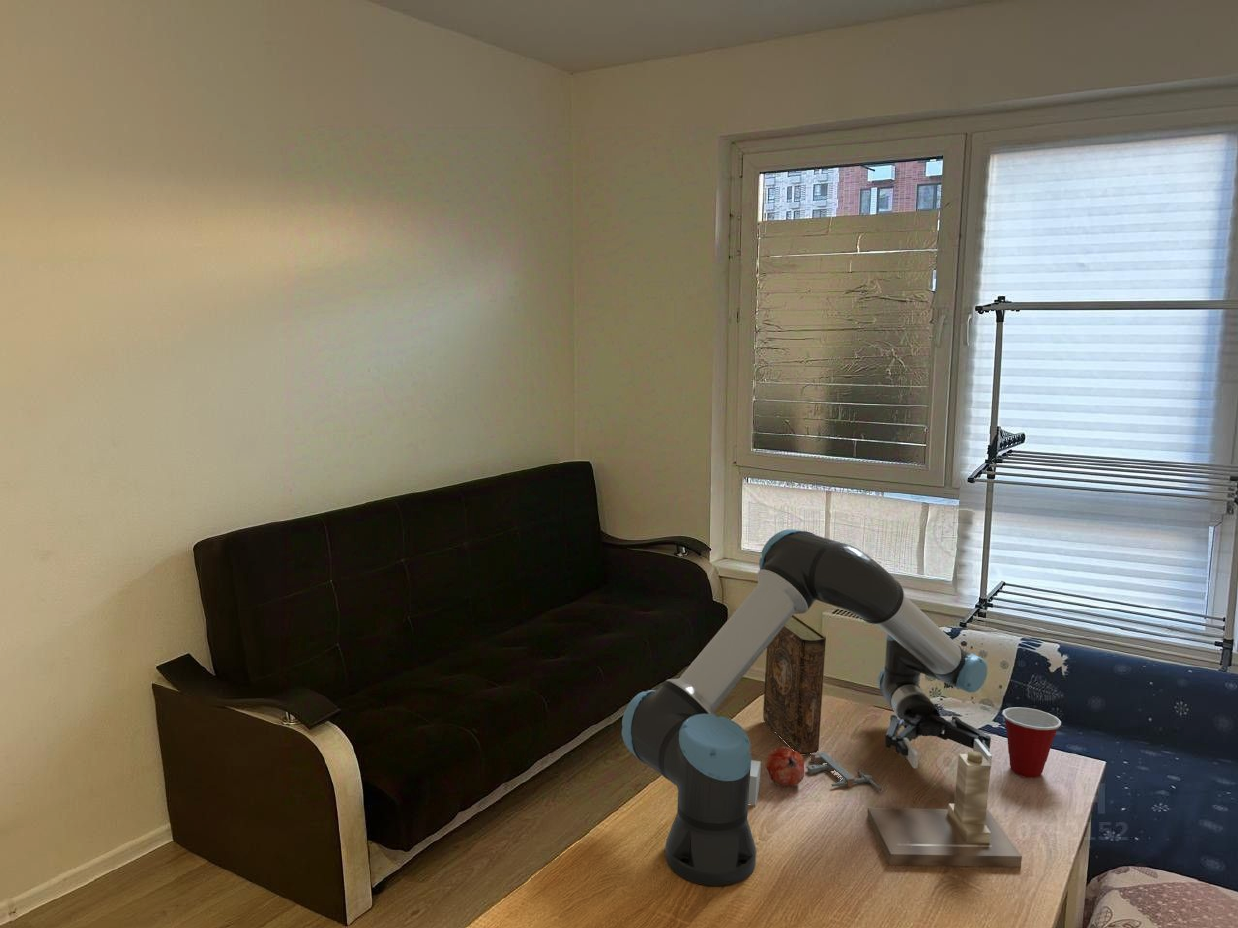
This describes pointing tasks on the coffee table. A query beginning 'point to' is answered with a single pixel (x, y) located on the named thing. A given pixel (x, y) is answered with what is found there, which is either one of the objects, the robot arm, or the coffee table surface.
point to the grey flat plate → (937, 840)
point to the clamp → (832, 765)
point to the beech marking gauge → (971, 798)
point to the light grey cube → (754, 782)
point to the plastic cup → (1029, 739)
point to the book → (795, 685)
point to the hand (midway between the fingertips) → (952, 762)
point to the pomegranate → (785, 766)
